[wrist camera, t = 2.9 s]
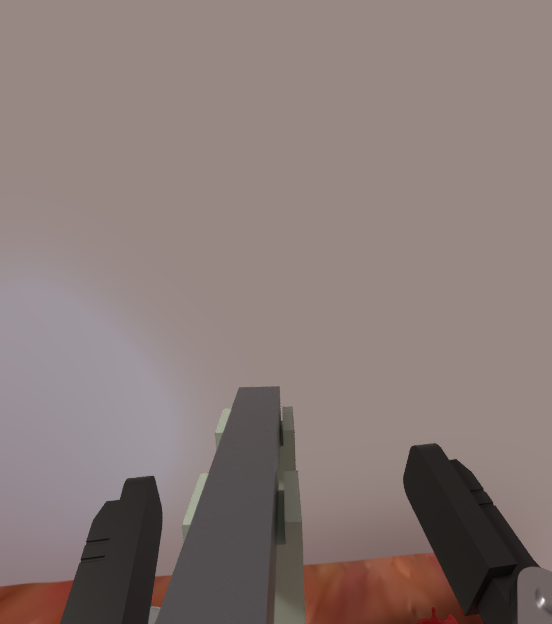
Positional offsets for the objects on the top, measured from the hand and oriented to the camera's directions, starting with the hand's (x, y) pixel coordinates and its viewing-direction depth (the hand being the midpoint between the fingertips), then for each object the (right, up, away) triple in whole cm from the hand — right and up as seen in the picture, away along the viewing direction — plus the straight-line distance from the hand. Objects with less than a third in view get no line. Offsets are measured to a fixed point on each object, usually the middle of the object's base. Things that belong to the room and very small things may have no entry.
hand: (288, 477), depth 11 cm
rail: (-2, -8, +13) cm, 15 cm away
